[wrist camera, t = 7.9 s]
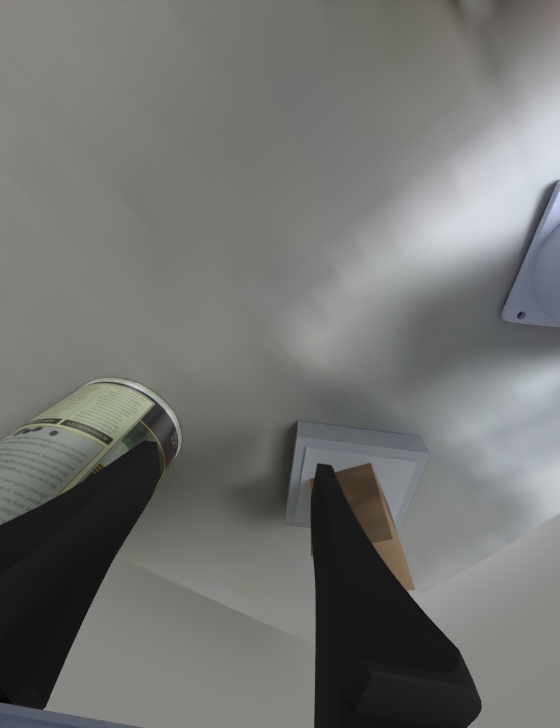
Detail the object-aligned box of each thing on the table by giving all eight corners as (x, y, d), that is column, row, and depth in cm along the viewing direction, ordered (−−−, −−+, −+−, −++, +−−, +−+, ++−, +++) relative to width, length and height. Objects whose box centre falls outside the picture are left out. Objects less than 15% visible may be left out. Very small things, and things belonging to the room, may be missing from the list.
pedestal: (420, 436, 23) (431, 455, 21) (389, 519, 27) (396, 542, 25) (297, 420, 23) (297, 438, 21) (285, 505, 27) (284, 526, 25)
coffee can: (206, 435, 24) (97, 651, 12) (138, 486, 28) (-5, 697, 15) (111, 351, 22) (-166, 508, 9) (49, 418, 25) (-218, 603, 12)
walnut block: (370, 462, 21) (393, 539, 16) (389, 506, 23) (414, 589, 18) (309, 478, 22) (311, 555, 17) (331, 519, 24) (339, 600, 19)
